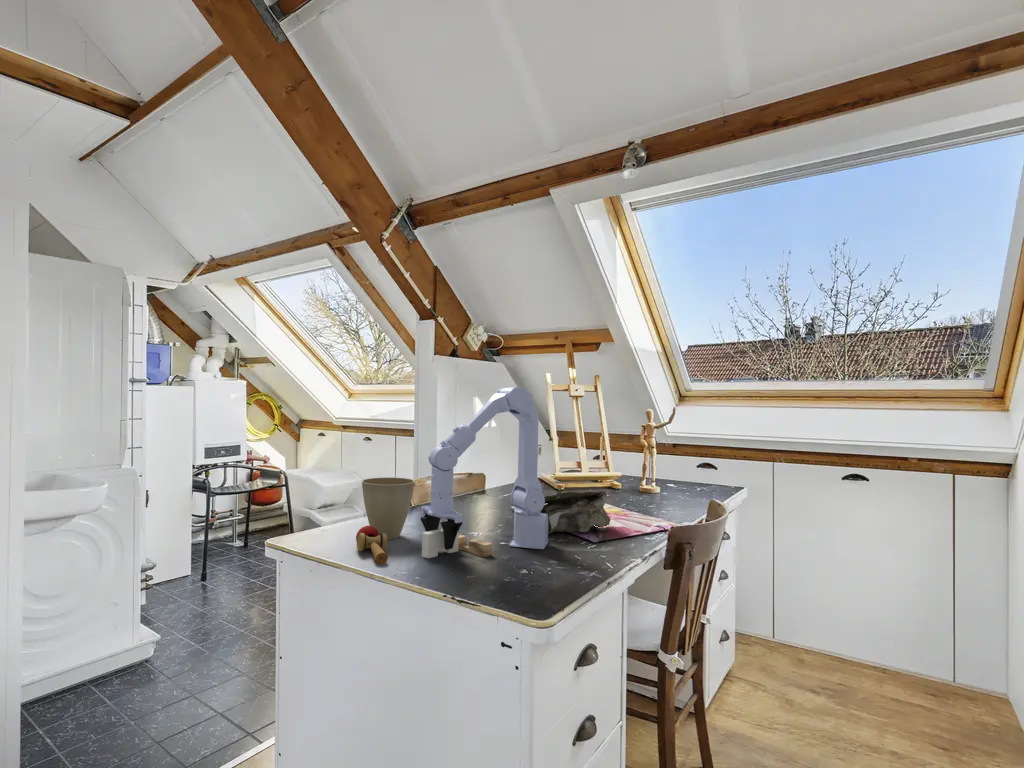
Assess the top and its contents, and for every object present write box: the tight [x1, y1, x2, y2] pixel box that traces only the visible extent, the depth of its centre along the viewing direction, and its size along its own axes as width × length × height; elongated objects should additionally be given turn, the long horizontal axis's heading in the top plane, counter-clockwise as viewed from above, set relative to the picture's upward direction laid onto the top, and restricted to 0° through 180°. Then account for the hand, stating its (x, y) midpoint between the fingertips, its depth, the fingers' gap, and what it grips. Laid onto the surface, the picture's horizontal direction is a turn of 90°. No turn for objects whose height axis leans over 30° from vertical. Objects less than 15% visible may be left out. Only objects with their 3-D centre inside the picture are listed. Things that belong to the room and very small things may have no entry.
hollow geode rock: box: [540, 490, 611, 535], centre depth 169 cm, size 28×13×15 cm
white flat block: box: [421, 528, 460, 559], centre depth 142 cm, size 2×10×6 cm, turn 137°
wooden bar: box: [458, 533, 493, 558], centre depth 147 cm, size 16×2×3 cm, turn 47°
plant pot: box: [361, 476, 416, 540], centre depth 158 cm, size 15×15×16 cm
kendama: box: [355, 525, 389, 565], centre depth 141 cm, size 8×6×18 cm
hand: (440, 546), depth 142 cm, fingers open, 6 cm apart
